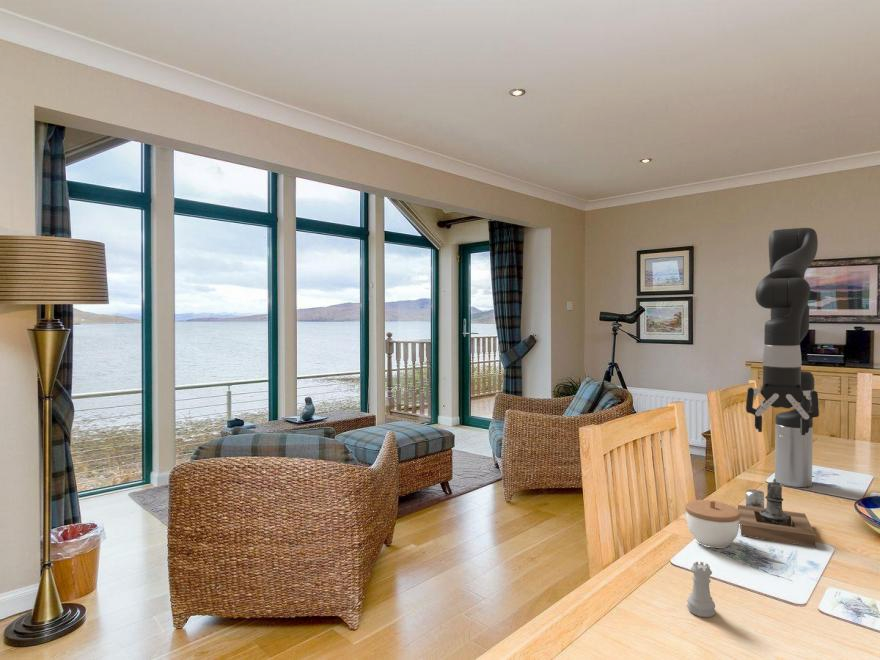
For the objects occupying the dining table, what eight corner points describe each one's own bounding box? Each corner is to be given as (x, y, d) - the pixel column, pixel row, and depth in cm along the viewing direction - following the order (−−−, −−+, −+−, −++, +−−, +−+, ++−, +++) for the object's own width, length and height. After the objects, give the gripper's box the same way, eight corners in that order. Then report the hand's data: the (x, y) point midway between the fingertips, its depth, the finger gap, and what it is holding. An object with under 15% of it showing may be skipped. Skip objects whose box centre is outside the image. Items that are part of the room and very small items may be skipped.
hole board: (737, 514, 134) (737, 504, 134) (804, 523, 128) (804, 513, 128) (741, 535, 122) (741, 524, 122) (815, 547, 115) (815, 535, 115)
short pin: (742, 508, 138) (742, 489, 138) (758, 508, 138) (758, 489, 137) (751, 514, 134) (750, 495, 134) (767, 514, 134) (767, 495, 134)
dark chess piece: (793, 535, 121) (794, 483, 121) (765, 533, 123) (765, 481, 122) (782, 525, 127) (783, 475, 127) (755, 523, 128) (755, 474, 128)
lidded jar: (734, 536, 121) (734, 495, 121) (744, 556, 111) (745, 512, 111) (682, 530, 125) (683, 490, 124) (688, 549, 115) (688, 506, 114)
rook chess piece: (681, 604, 93) (681, 559, 93) (706, 603, 94) (706, 558, 93) (695, 619, 89) (696, 571, 88) (721, 618, 89) (721, 570, 89)
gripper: (815, 363, 125) (814, 432, 126) (745, 361, 131) (745, 427, 132) (821, 367, 118) (820, 439, 119) (747, 364, 125) (746, 433, 125)
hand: (780, 432), depth 125 cm, fingers open, 8 cm apart
